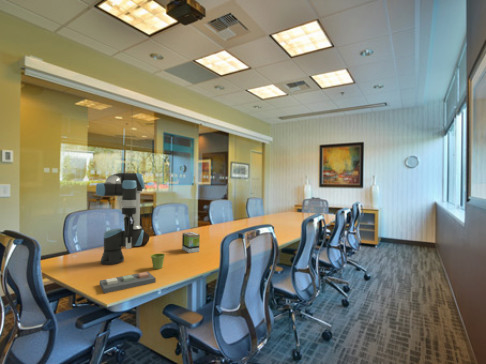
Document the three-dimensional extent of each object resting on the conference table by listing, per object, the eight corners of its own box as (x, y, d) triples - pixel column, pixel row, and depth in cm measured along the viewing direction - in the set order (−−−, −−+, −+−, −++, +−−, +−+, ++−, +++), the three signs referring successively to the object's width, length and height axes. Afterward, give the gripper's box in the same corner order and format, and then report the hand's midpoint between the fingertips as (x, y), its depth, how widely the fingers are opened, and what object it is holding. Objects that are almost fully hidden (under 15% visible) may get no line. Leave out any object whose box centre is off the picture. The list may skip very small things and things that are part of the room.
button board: (99, 285, 152) (99, 280, 152) (147, 275, 168) (148, 271, 168) (104, 293, 140) (104, 288, 140) (155, 282, 157) (155, 278, 157)
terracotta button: (137, 277, 160) (137, 273, 160) (146, 275, 163) (146, 271, 163) (140, 279, 156) (140, 275, 156) (148, 277, 159) (148, 274, 159)
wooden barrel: (144, 242, 258) (145, 213, 258) (152, 245, 245) (153, 215, 245) (125, 245, 245) (125, 214, 245) (133, 248, 232) (133, 216, 232)
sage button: (122, 280, 155) (122, 276, 155) (131, 278, 158) (131, 274, 158) (124, 282, 151) (124, 278, 151) (133, 281, 154) (133, 277, 154)
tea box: (199, 251, 227) (200, 234, 227) (188, 253, 221) (188, 235, 221) (192, 247, 239) (192, 231, 239) (181, 249, 233) (182, 232, 233)
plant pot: (155, 271, 176) (155, 258, 176) (147, 268, 182) (147, 255, 182) (167, 268, 183) (167, 255, 183) (160, 265, 189) (160, 252, 189)
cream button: (106, 283, 149) (106, 279, 149) (115, 281, 152) (115, 277, 152) (107, 286, 145) (107, 282, 145) (117, 284, 148) (117, 280, 148)
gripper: (119, 206, 157) (118, 246, 157) (125, 208, 147) (124, 251, 147) (132, 205, 162) (132, 245, 162) (139, 207, 151) (138, 249, 151)
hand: (128, 248), depth 154 cm, fingers closed
